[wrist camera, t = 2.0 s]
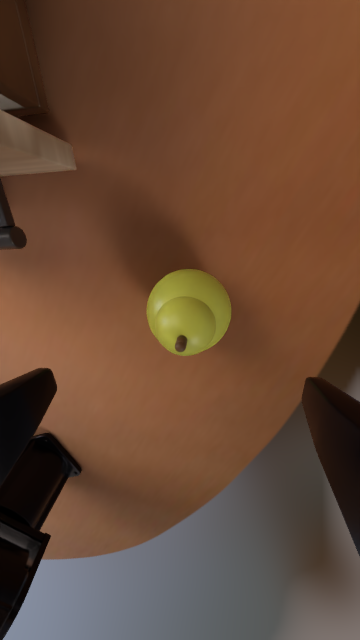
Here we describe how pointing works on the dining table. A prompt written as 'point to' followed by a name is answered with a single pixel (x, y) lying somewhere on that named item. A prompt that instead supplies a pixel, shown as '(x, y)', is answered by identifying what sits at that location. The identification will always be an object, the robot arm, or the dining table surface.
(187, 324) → the pear
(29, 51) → the drawer
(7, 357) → the dining table surface
